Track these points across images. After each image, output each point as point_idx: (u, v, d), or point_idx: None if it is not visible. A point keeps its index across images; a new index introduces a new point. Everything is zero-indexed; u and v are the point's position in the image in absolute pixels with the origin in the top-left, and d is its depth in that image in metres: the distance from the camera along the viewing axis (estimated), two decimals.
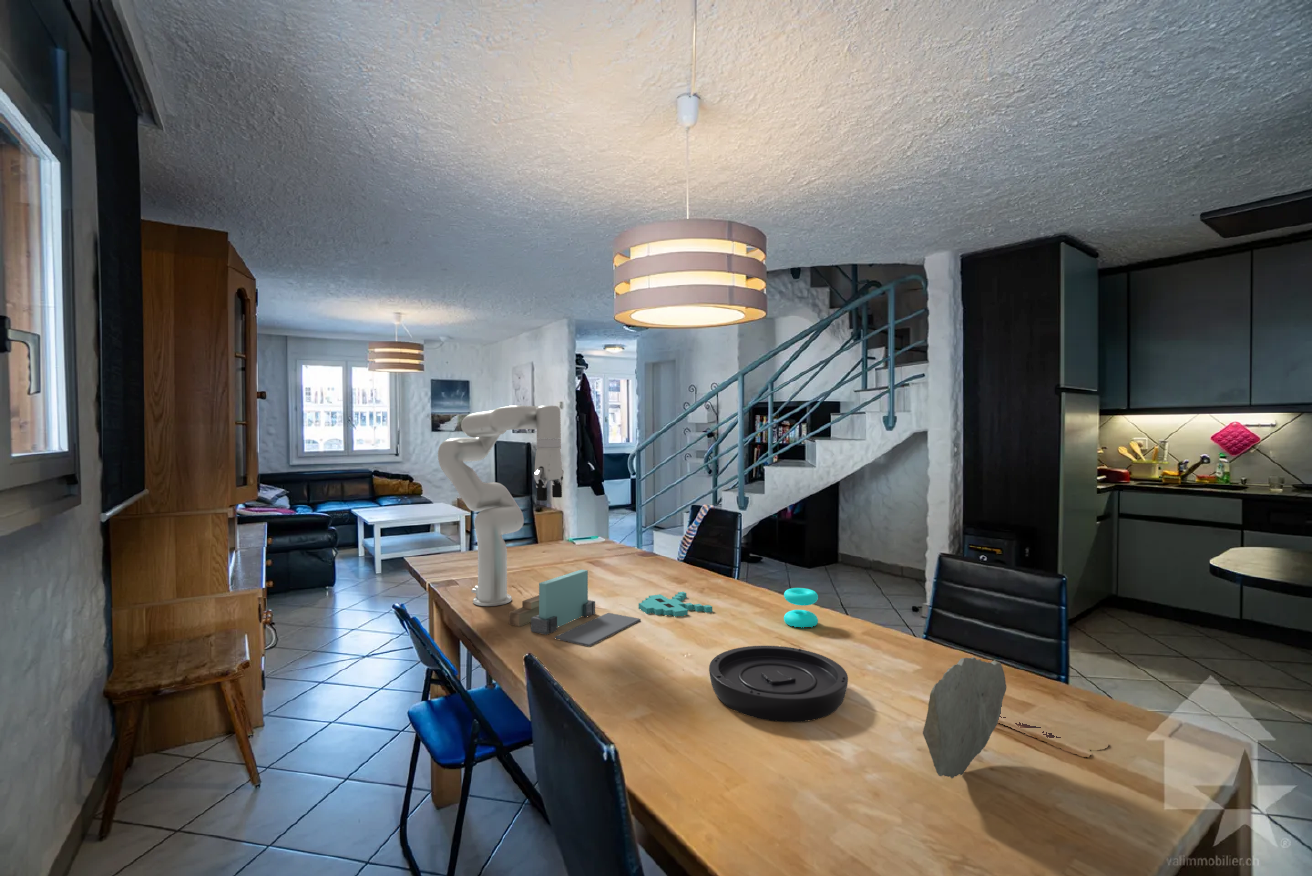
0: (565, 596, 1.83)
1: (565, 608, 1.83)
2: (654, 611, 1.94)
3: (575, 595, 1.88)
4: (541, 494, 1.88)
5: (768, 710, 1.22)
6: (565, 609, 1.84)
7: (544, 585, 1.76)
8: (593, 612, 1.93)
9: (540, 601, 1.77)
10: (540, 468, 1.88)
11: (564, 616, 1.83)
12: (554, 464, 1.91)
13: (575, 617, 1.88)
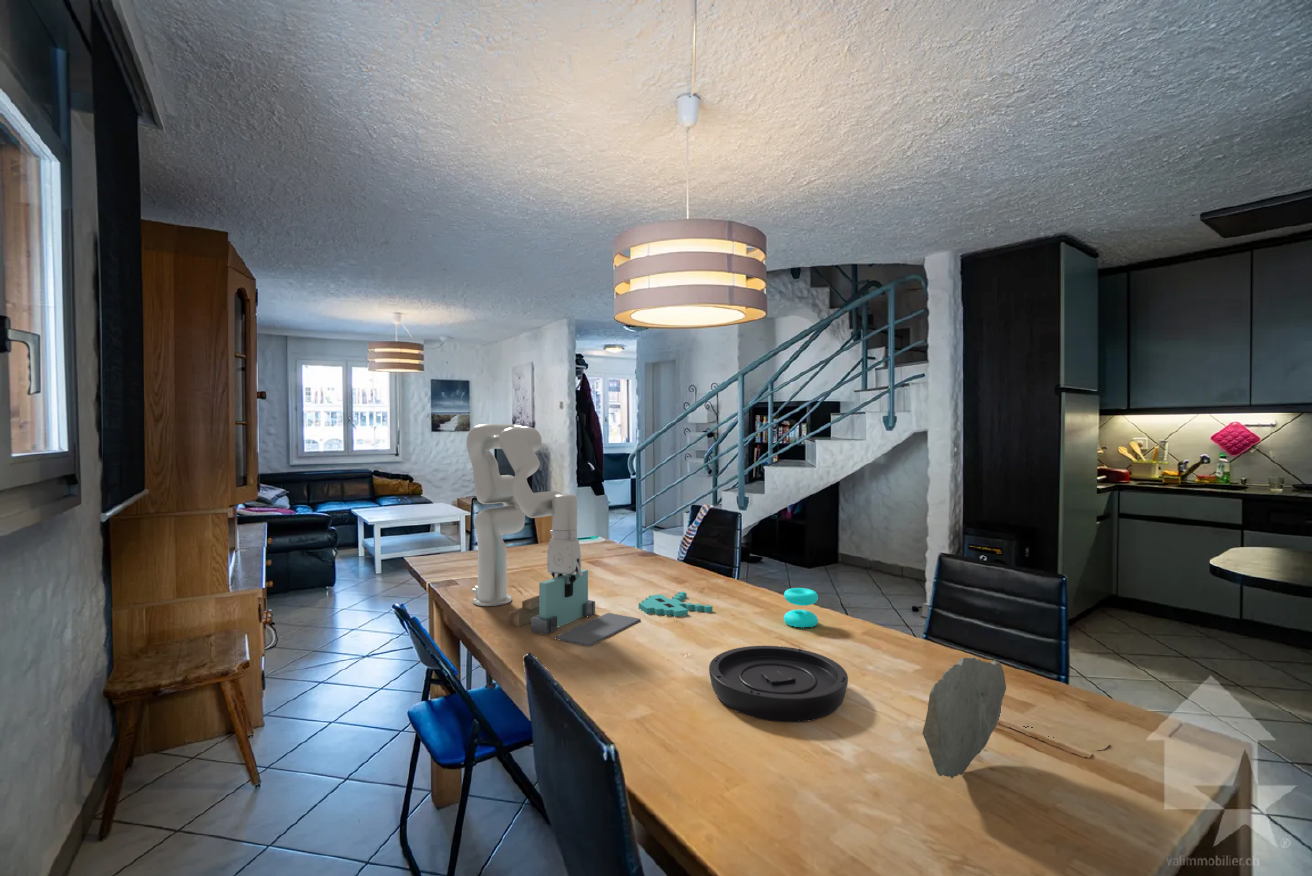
0: None
1: (565, 608, 1.83)
2: (654, 611, 1.94)
3: (575, 595, 1.87)
4: (572, 590, 1.84)
5: (768, 710, 1.22)
6: (566, 609, 1.84)
7: (544, 585, 1.76)
8: (593, 612, 1.93)
9: (540, 601, 1.77)
10: (577, 564, 1.82)
11: (564, 616, 1.83)
12: None
13: (575, 617, 1.88)
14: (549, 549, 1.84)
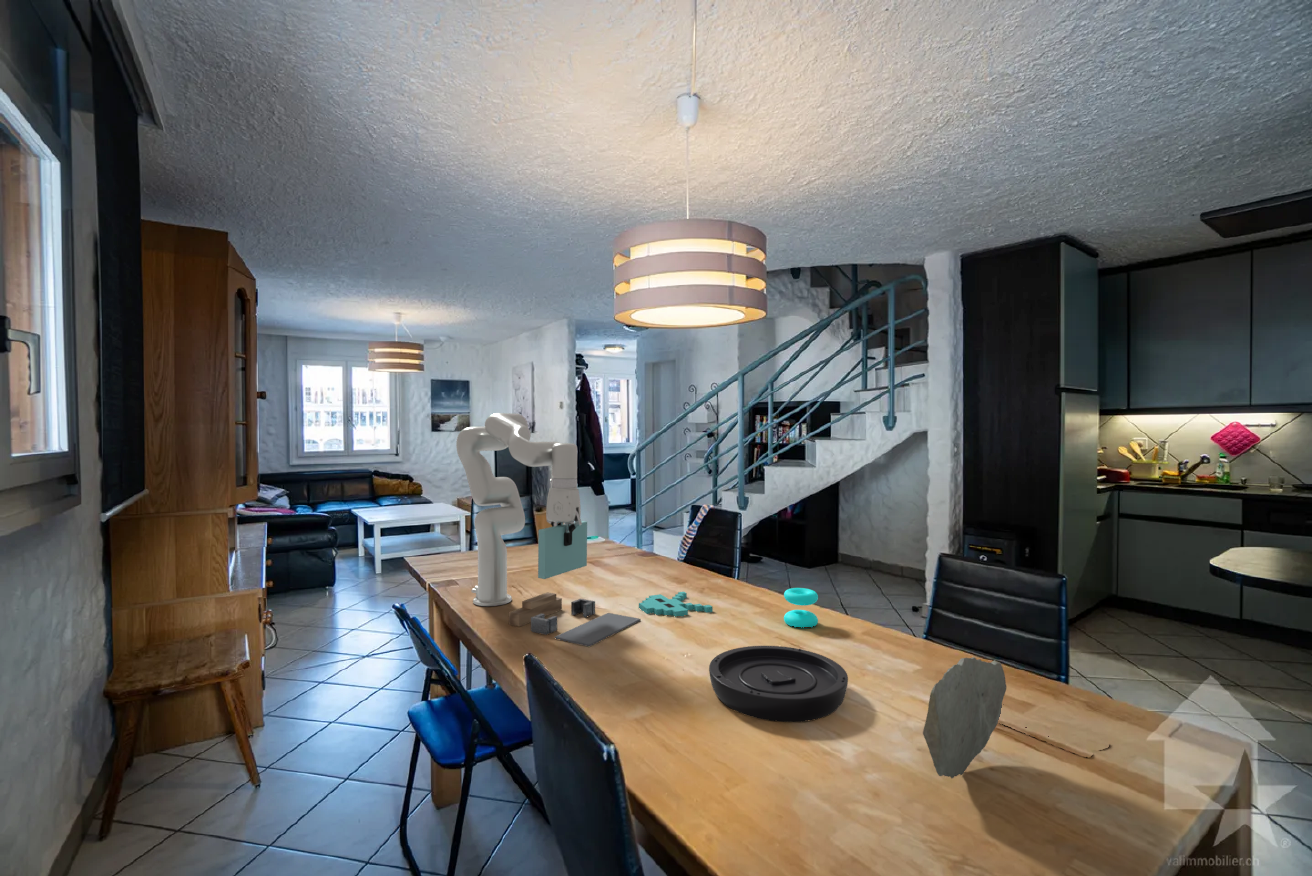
0: None
1: (564, 557, 1.83)
2: (654, 611, 1.94)
3: (574, 545, 1.88)
4: (571, 539, 1.84)
5: (768, 710, 1.22)
6: (565, 558, 1.84)
7: (543, 532, 1.76)
8: (593, 612, 1.93)
9: (539, 548, 1.77)
10: (576, 512, 1.82)
11: (563, 564, 1.83)
12: None
13: (574, 567, 1.88)
14: (549, 498, 1.84)
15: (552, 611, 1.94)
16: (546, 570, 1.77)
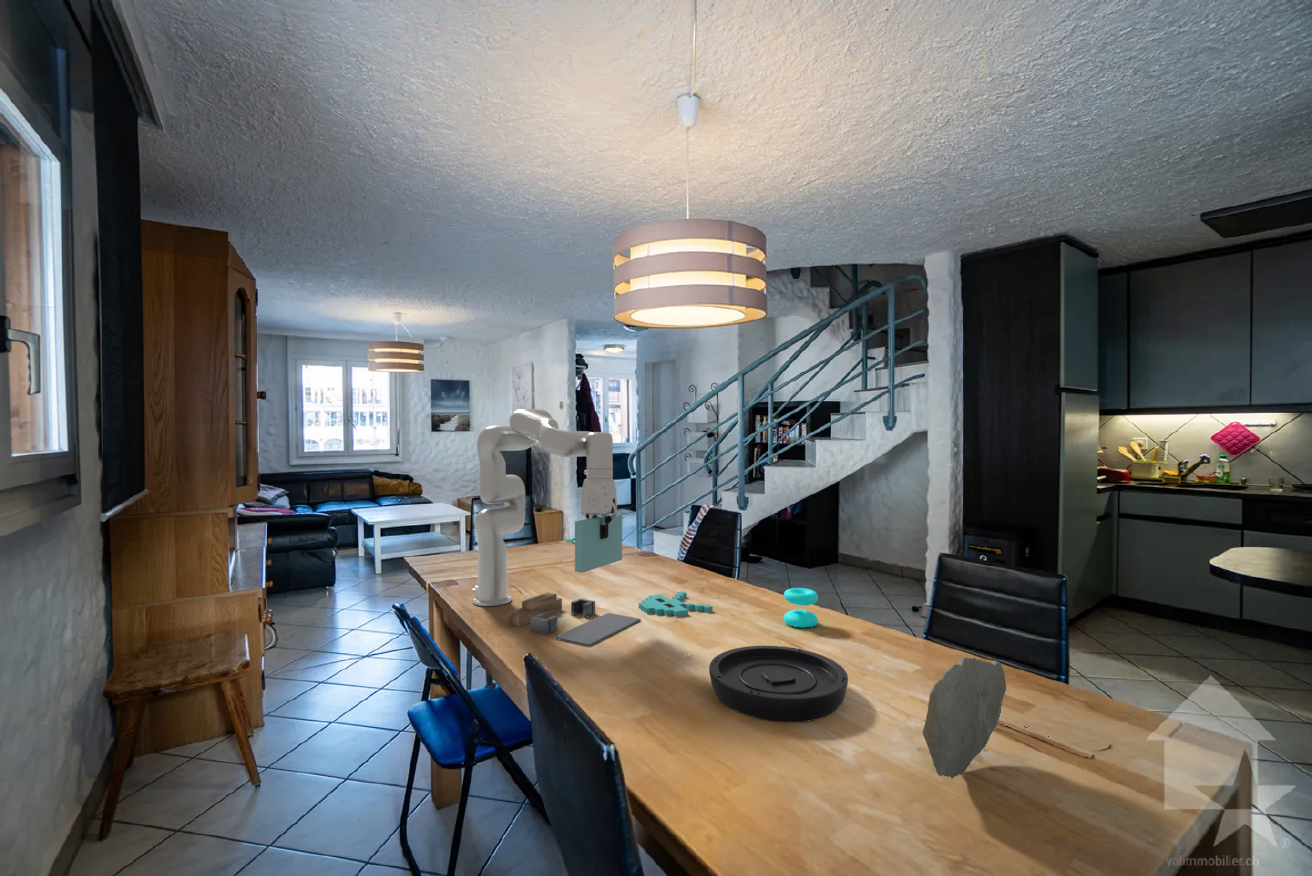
0: None
1: (600, 550, 1.76)
2: (654, 611, 1.94)
3: (610, 538, 1.81)
4: (607, 531, 1.77)
5: (768, 710, 1.22)
6: (601, 551, 1.77)
7: (580, 523, 1.69)
8: (593, 612, 1.93)
9: (576, 540, 1.70)
10: (613, 504, 1.75)
11: (599, 558, 1.76)
12: None
13: (610, 561, 1.81)
14: (583, 489, 1.78)
15: (552, 611, 1.94)
16: (583, 564, 1.70)
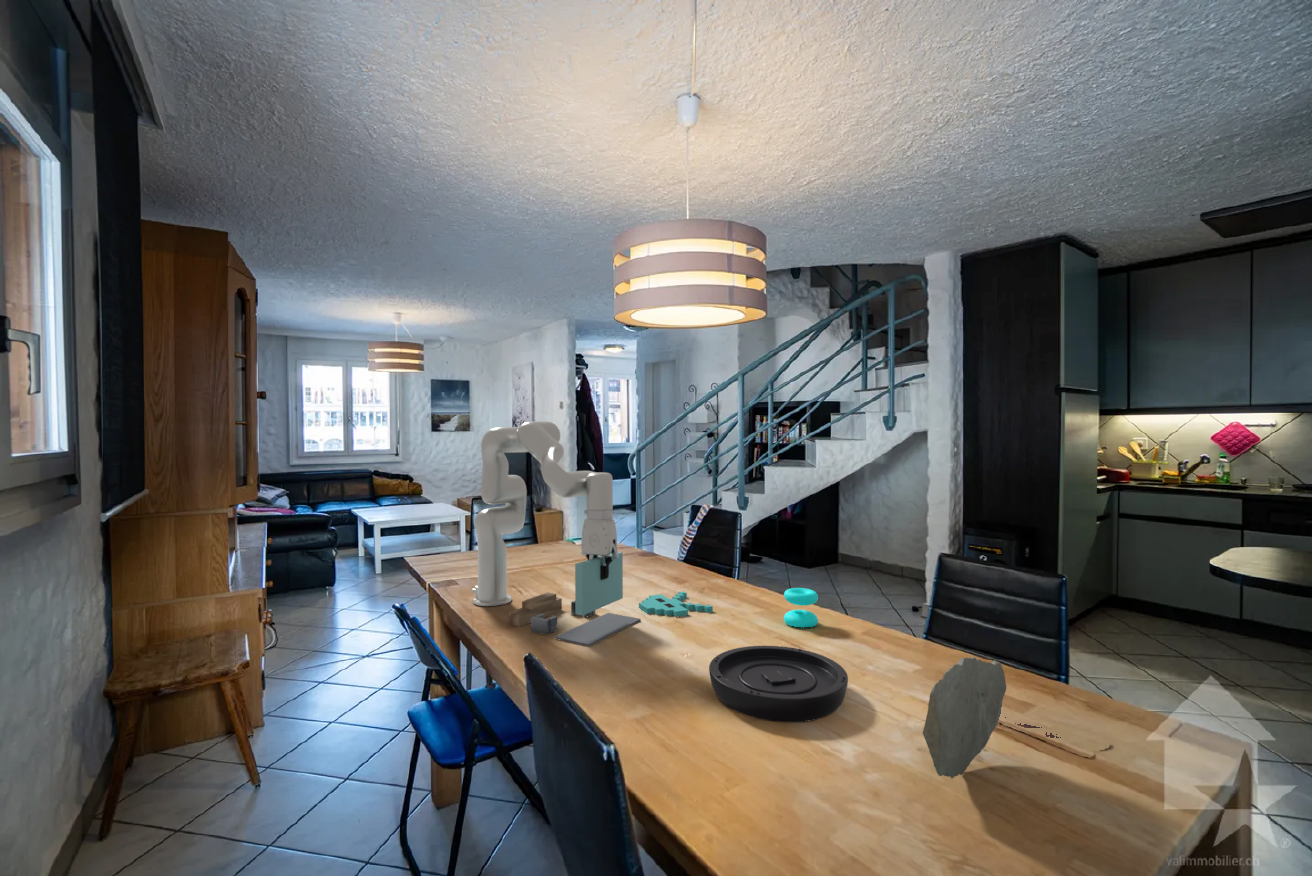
0: None
1: (601, 591, 1.76)
2: (654, 611, 1.94)
3: (610, 578, 1.81)
4: (607, 572, 1.77)
5: (768, 710, 1.22)
6: (601, 591, 1.77)
7: (581, 566, 1.69)
8: (593, 612, 1.93)
9: (576, 583, 1.70)
10: (613, 545, 1.76)
11: (600, 599, 1.76)
12: None
13: (611, 600, 1.81)
14: (584, 530, 1.78)
15: (552, 611, 1.94)
16: (584, 606, 1.70)
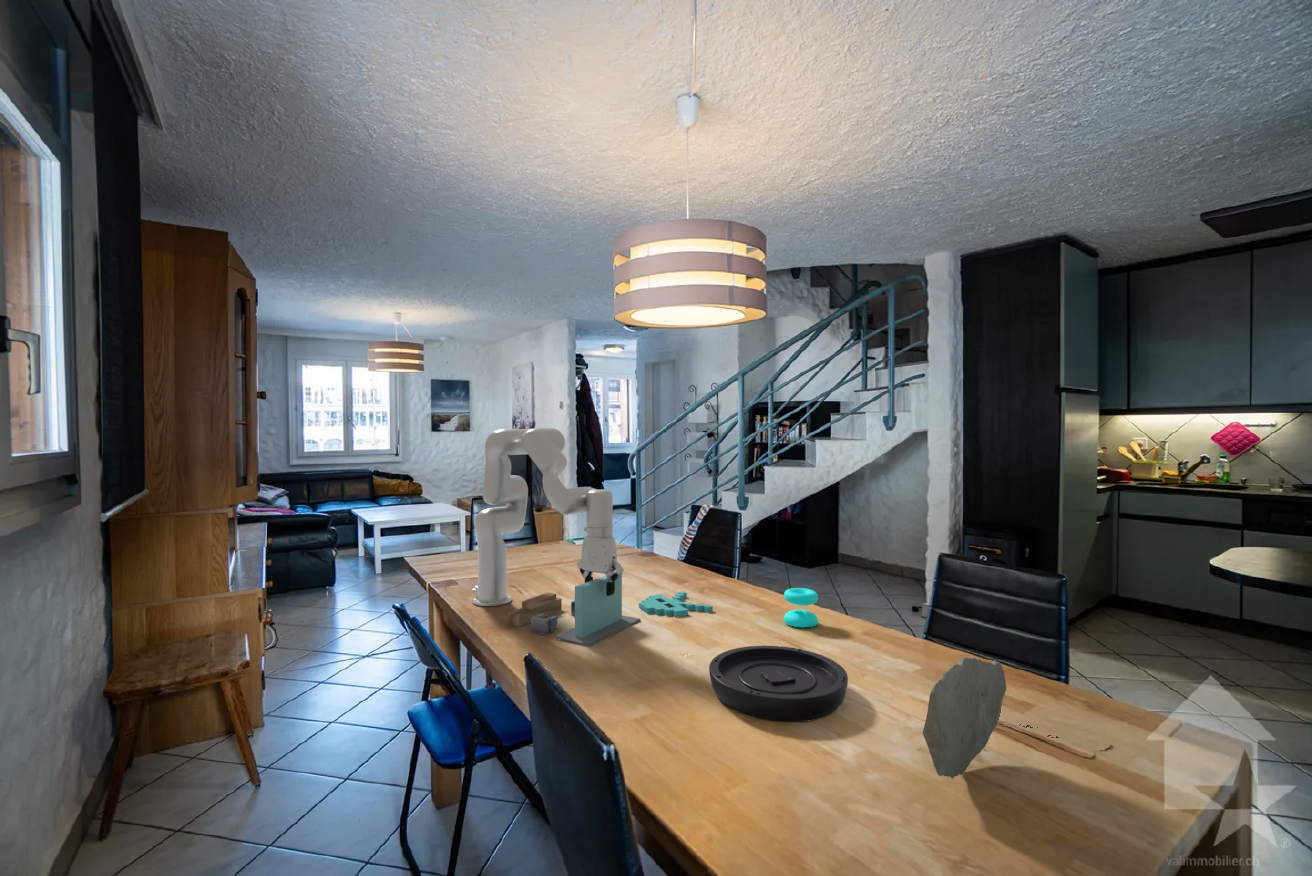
0: (600, 600, 1.77)
1: (600, 613, 1.77)
2: (654, 611, 1.94)
3: (610, 599, 1.81)
4: (613, 588, 1.76)
5: (768, 710, 1.22)
6: (601, 613, 1.77)
7: (580, 589, 1.69)
8: None
9: (576, 605, 1.70)
10: (614, 560, 1.75)
11: (599, 620, 1.76)
12: None
13: (610, 621, 1.81)
14: (584, 547, 1.78)
15: (552, 611, 1.94)
16: (583, 629, 1.70)
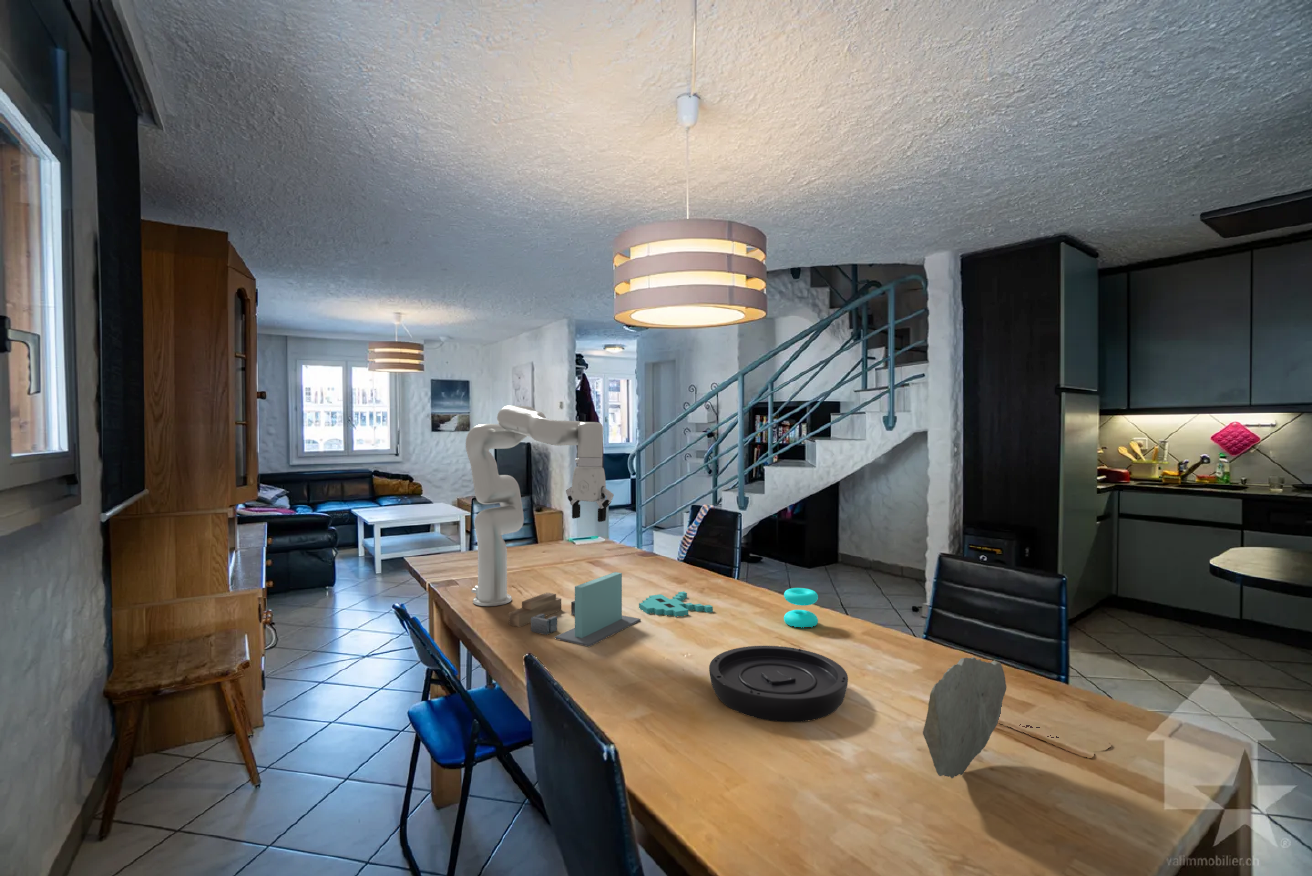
0: (600, 600, 1.77)
1: (600, 613, 1.77)
2: (654, 611, 1.94)
3: (610, 599, 1.81)
4: (605, 514, 1.82)
5: (768, 710, 1.22)
6: (601, 613, 1.77)
7: (580, 589, 1.69)
8: None
9: (576, 605, 1.70)
10: (604, 488, 1.81)
11: (599, 620, 1.76)
12: None
13: (610, 621, 1.81)
14: (574, 477, 1.84)
15: (552, 611, 1.94)
16: (583, 629, 1.70)
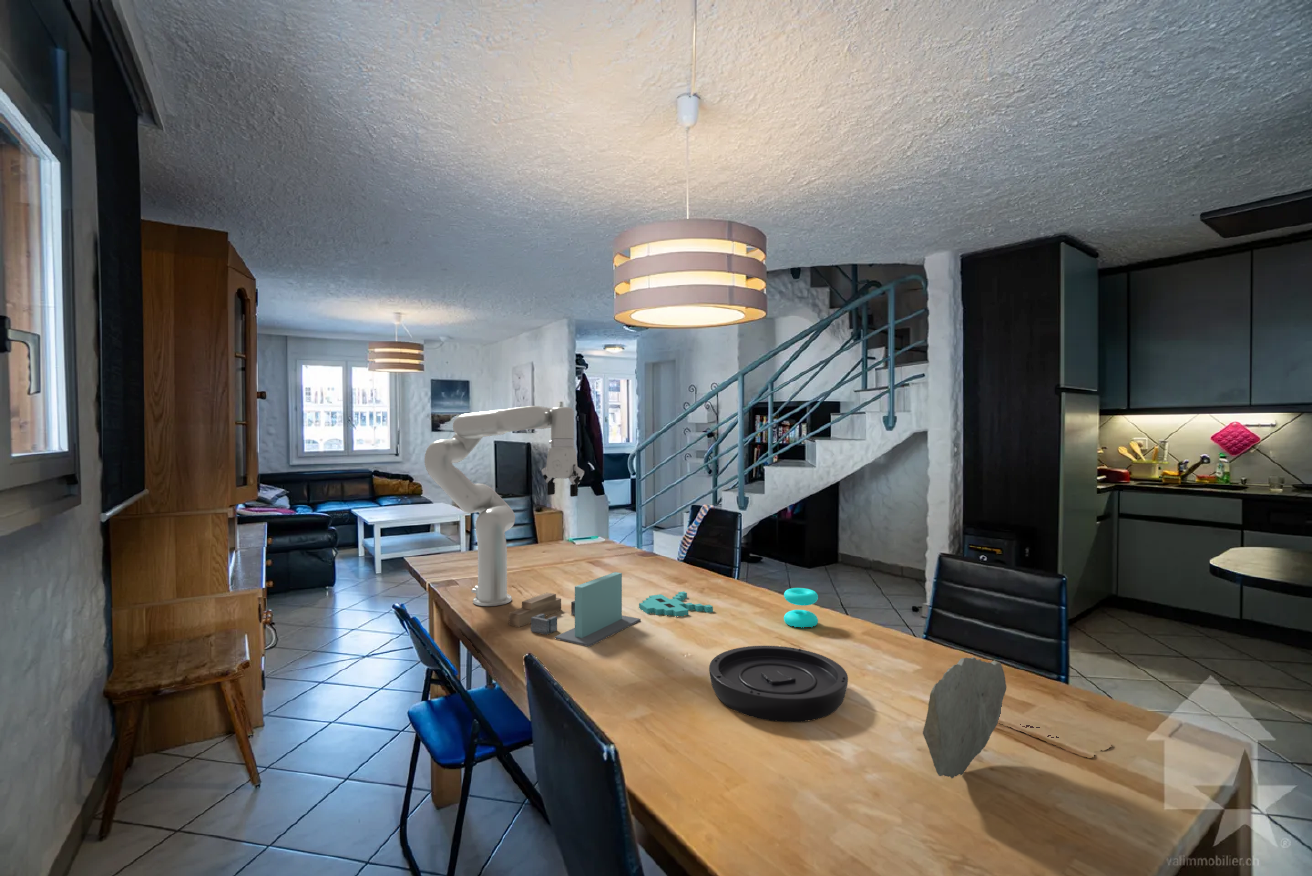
0: (600, 600, 1.77)
1: (600, 613, 1.77)
2: (654, 611, 1.94)
3: (610, 599, 1.81)
4: (577, 490, 2.01)
5: (768, 710, 1.22)
6: (601, 613, 1.77)
7: (580, 589, 1.69)
8: None
9: (576, 605, 1.70)
10: (575, 466, 2.01)
11: (599, 620, 1.76)
12: None
13: (610, 621, 1.81)
14: (548, 457, 2.03)
15: (552, 611, 1.94)
16: (583, 629, 1.70)
